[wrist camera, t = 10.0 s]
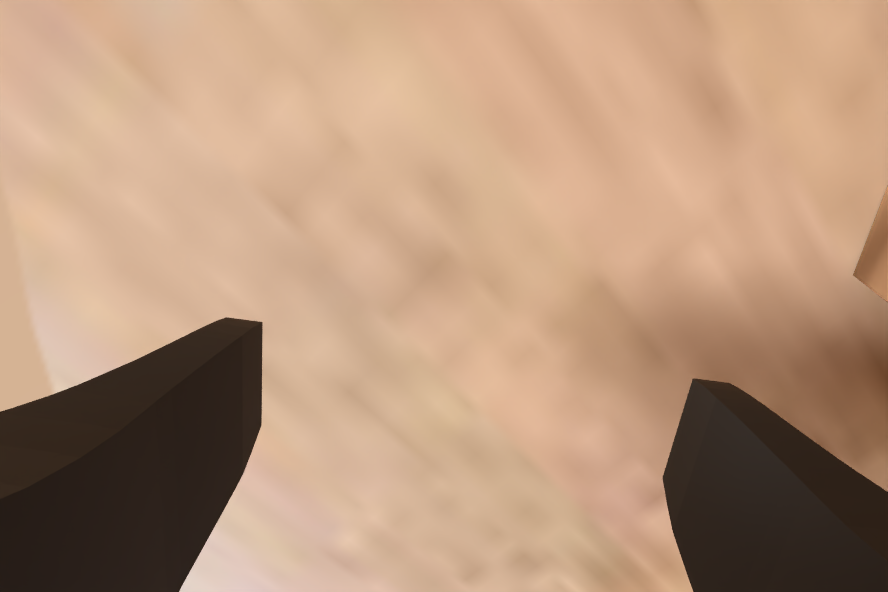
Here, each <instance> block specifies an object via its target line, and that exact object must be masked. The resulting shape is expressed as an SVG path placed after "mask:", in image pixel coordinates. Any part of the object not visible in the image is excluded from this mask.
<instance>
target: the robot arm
mask: <svg viewBox="0 0 888 592" xmlns="http://www.w3.org/2000/svg"><path fill="white" fill-rule="evenodd" d="M261 414H262V322H257V321H249V320H242V319H234V318H224V319H221V320H218V321H216V322H213V323H211V324H209V325H207V326H205V327H202V328H200V329H198V330H196V331H194V332H192V333H190V334H188V335H186V336H184V337H182V338H180V339H178V340H176V341H174V342H172V343H170V344H168V345H166V346H164V347H162V348H159V349H157V350H155V351H153V352H151V353H149V354H147V355H145V356H143V357H141V358H139V359H137V360H135V361H132V362H130V363H128V364H125V365H123V366H121V367H118V368H116V369H114V370H112V371H109V372H107V373H105V374H102V375H100V376H98V377H95V378H93V379H91V380H89V381H86V382H84V383H82V384H79V385H77V386H74V387H71V388H69V389H66V390H64V391H61V392H58V393H55V394H53V395H50V396H48V397H44V398H41V399H38V400H36V401H32V402H29V403H26V404H24V405H20V406H17V407H15V408H11V409H8V410H5V411H1V412H0V592H179V591H180V589H181V586H182V585H183V583H184V581H185V579H186V577H187V576H188V574H189V572H190V570H191V568H192V566H193V565H194V563H195V561H196V559H197V557H198V556H199V554H200V552H201V550H202V548H203V547H204V545H205V543H206V541H207V539H208V538H209V536H210V534H211V532H212V530H213V528H214V527H215V525H216V523H217V521H218V519H219V518H220V516H221V514H222V512H223V510H224V508H225V507H226V505H227V503H228V501H229V499H230V497H231V496H232V494H233V492H234V490H235V488H236V486H237V484H238V483H239V481H240V479H241V477H242V475H243V473H244V470H245V467H246V465H247V462H248V460H249V457H250V455H251V452H252V449H253V447H254V444H255V441H256V438H257V436H258V433H259V430H260V427H261ZM663 483H664V488H665V494H666V500H667V506H668V511H669V515H670V520H671V525H672V530H673V533H674V536H675V539H676V542H677V546H678V548H679V551H680V554H681V557H682V560H683V563H684V566H685V569H686V572H687V575H688V578H689V580H690V583H691V586H692V589H693V592H888V492H887V491H885V490H884V489H882V488H881V487H879V486H878V485H876V484H875V483H873V482H872V481H870V480H869V479H867V478H866V477H864V476H863V475H861V474H860V473H858V472H857V471H855V470H854V469H852V468H851V467H849V466H848V465H846V464H845V463H843V462H842V461H841V460H839V459H838V458H836V457H835V456H833V455H832V454H831V453H829V452H828V451H826V450H825V449H824V448H822V447H821V446H819V445H818V444H817V443H815V442H814V441H812V440H811V439H810V438H808V437H807V436H806V435H804V434H803V433H801V432H800V431H799V430H797V429H796V428H795V427H793V426H792V425H791V424H789V423H788V422H786V421H785V420H784V419H782V418H781V417H780V416H778V415H777V414H776V413H774V412H773V411H771V410H770V409H769V408H767V407H766V406H764V405H763V404H762V403H760V402H759V401H757V400H756V399H754V398H753V397H752V396H750V395H749V394H747V393H746V392H744V391H742V390H741V389H739V388H737V387H736V386H734V385H732V384H730V383H724V382H716V381H709V380H701V379H693V380H692V383H691V387H690V390H689V393H688V396H687V400H686V403H685V406H684V409H683V413H682V416H681V419H680V423H679V426H678V429H677V432H676V436H675V439H674V442H673V445H672V449H671V452H670V455H669V458H668V462H667V465H666V468H665V472H664V475H663Z"/></svg>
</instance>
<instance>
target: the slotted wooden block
mask: <svg viewBox="0 0 888 592" xmlns="http://www.w3.org/2000/svg"><path fill="white" fill-rule="evenodd" d="M853 275H854V276H855V277H856V278H858V279H859V280H860V281H861V282H863V283H864V284H865V285H866V286H868V287H869V288H870V289H872V290H873V291H874V292H875V293H877V294H878V295H879V296H880V297H882V298H883V299H884V300H886V301H887V302H888V187H887V189H886V192H885V195H884V197H883V200H882V202H881V205H880V207H879V210H878V213H877V215H876V218H875V220H874V223H873V225H872V228H871V231H870V233H869V236H868V238H867V241H866V243H865V246H864V249H863V251H862V254H861V256H860V259H859V261H858V264H857V267H856V269H855V272H854V274H853Z"/></svg>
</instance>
